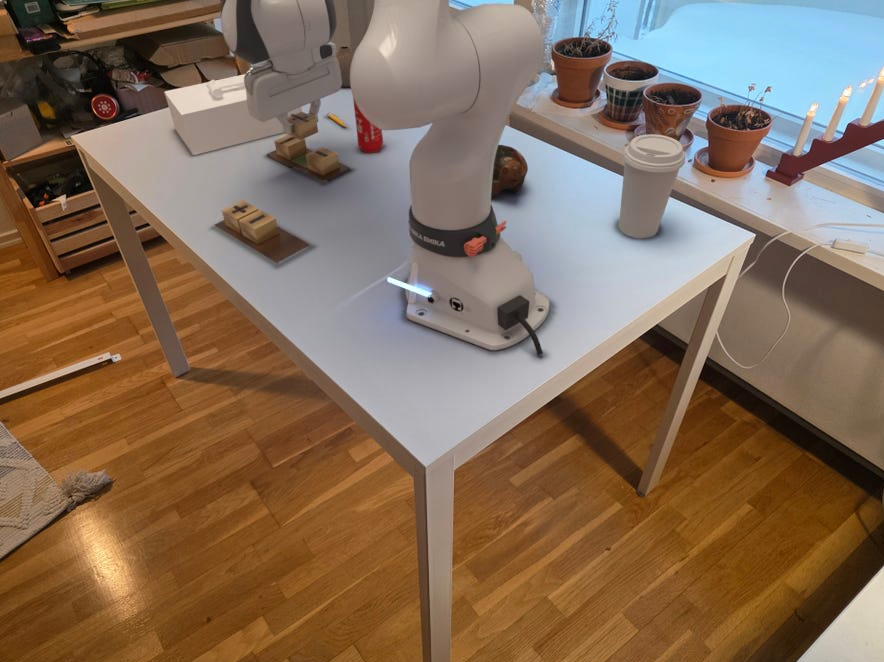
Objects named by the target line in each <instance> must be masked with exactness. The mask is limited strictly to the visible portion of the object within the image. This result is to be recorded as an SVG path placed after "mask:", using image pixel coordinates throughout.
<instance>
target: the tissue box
mask: <svg viewBox="0 0 884 662" xmlns="http://www.w3.org/2000/svg"><path fill="white" fill-rule="evenodd" d="M245 74H246V73H244V74H239V75H235V76H230V77H226V78H219V79H217V80H215V79H211V80H210V81H207V82H202V83H197V84H192V85H189V86H184V87H183V86H182V87H178V88H173V89H170V90H169V89H168V90H165V91H164V92H163V93H164V96H165V99H166V102H167V106H168V109H169V112H170V116H171V119H172V122H173V125H174V128H175V131H176V133H177V134H178V135H179V137H180V138H181V140H182V142H183V143H184V144H185V145H186V147H187V148H188V150H189V151H190V153H191V154H192V155H193V156H196V155H201V154H204V153H208V152H212V151H216V150H217V151H218V150H220V149H225V148H228V147H232V146H236V145H240V144H243V143H248V142H252V141H255V140H259V139H263V138H264V139H265V138H267V137H271V136H272V137H273V136H275V135H279V134H283V133H285V132H284V129H283V124H282V123H281V122H280V121H279V120H278V119H277V118H276V117H275V118H272V119H270V120H268V121H265V122H261V121H259V120H257V119H255V118H253V117H252V116H251V115H250V114H249V111H248V105H247V97H246V88H245V84H244V76H245ZM249 74H250V73H249ZM249 74H248V75H249ZM299 112H303V110H302V107H299V108H297V109H294V110H292V111H289V112H288V117H290V116H291V114H294V115H295V114H297V113H299Z"/></svg>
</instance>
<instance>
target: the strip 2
mask: <svg viewBox="0 0 884 662" xmlns="http://www.w3.org/2000/svg"><path fill="white" fill-rule="evenodd" d="M273 142H274V146H275V150H272V151H271V152H268V153H266V157H267V158H269V159H272V160H274V161H276V162H278V163H280V164H282V165H284V166H285V167H288V168H291V169H293V168H294V169H296V170H299V171H301V172H303V173H305V174H308V175H310V176H312V177H314V178H316V179H318V180H320V181H322V182H330V181H332V180H334V179H337V178H338V177H340V176H342V175H344V174H346V173H348V172H351V167H349V166H348V165H345V164H343V163H341V162H340V161H339V153H338V152H336V151H334V150H331V149H329V148H326V147H324V146H321V147H320V148H317V149H315V150H311V149H309V148H308V147H307V142H306V138H304V139H302V140H299V139H297V138H295V137H293V136H290V135H288V134H285V135H283V136H281V137H278V138H277V139H274V140H273Z"/></svg>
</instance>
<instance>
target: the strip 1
mask: <svg viewBox="0 0 884 662" xmlns="http://www.w3.org/2000/svg"><path fill="white" fill-rule="evenodd" d="M221 213H222V216H223V220H221V221H219V222H217V223H215V224H214V226H215V227H216V228H218V229H219V230H221V231H223V232H225V233H226V234H228V235H229V236H231V237H233V238H235V239H236V240H238V241H239V242H241V243H243V244H245V245H246V246H248V247H249V248H251V249H253V250H254V251H256V252H258V253H259V254H261V255H263V256H265V257H266V258H268V259H269V260H271V261H272V262H274V263H276V264H279V263H280V262H282V261H284V260H287V258H290V257H291V256H293V255H294V254H296V253H298V252H301V251H302V250H303V249H305V248H307V247H309V246H311V244H310V243H308V242H306V241H304V240H302V239H301V238H299V237H298V236H296V235H294V234H292V233H290V232H289V231H287V230H285V229H283V228H282V227H279V226H278V222H277V218H276V217H274V216H272V215H270V214H268V213H267V212H265V211H263V210H261V209H259V208H258V207H256V206H253V205H252V204H251V203H248V202H247V201H244V199H243V200H240V201H238V202H236V203H234V204H232V205H230V206H228V207H226V208H224V209H222V210H221Z"/></svg>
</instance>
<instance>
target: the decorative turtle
mask: <svg viewBox="0 0 884 662" xmlns="http://www.w3.org/2000/svg"><path fill="white" fill-rule="evenodd" d="M528 171H529V166H528V163H527V161H526V159H525V157H524V156H523V154H522V153H521V152H520V151H518V150H517V149H516V148H514V147H512V146H508V145H504V144H499V145H498V148H497V151H496V156H495V160H494V168H493V179H492V192H491V199H494V198H495V197H497V196H498V195H499V194H501V192H502V191H504V190H506V189H508V190H509V191H511V192H512V193H513V194H518V193H520V191H521V190H522V188H523V185H524V183H525V179H526V176H527V173H528Z"/></svg>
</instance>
